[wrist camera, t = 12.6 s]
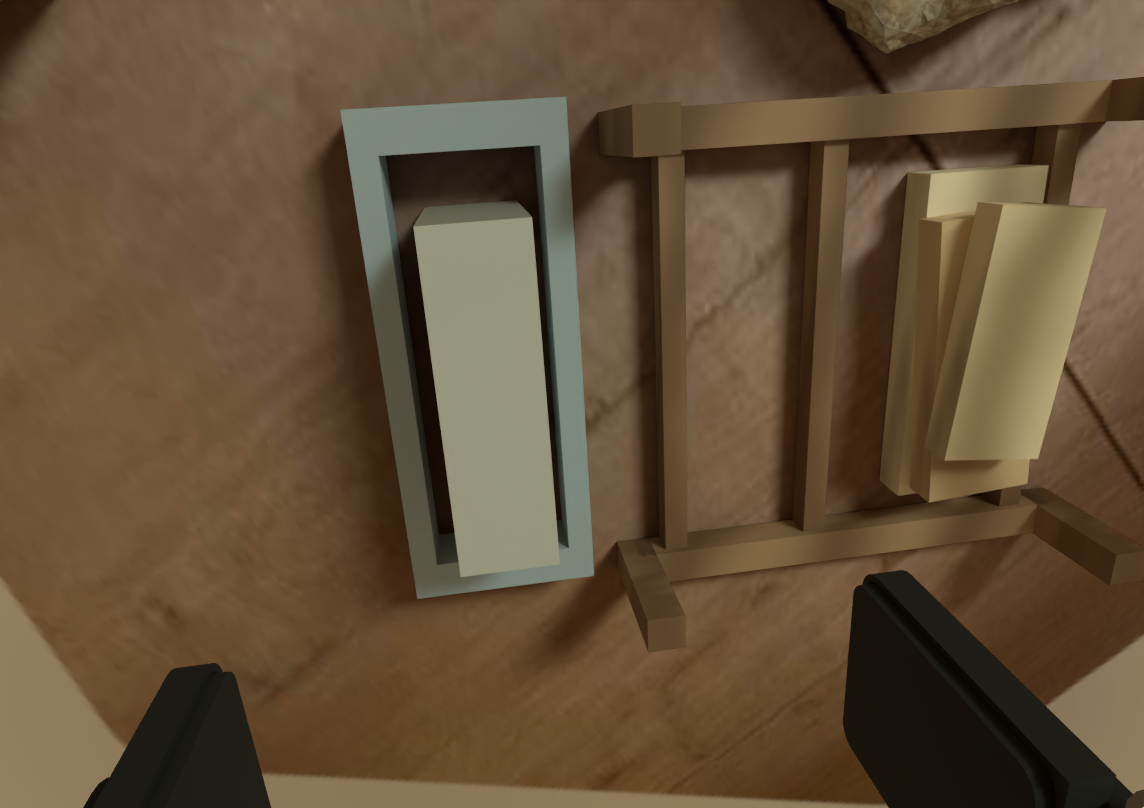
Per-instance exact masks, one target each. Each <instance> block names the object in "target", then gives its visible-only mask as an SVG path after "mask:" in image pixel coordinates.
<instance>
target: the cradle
mask: <svg viewBox="0 0 1144 808" xmlns="http://www.w3.org/2000/svg"><path fill="white" fill-rule="evenodd" d="M341 117H342V123H343V129H344V136H345V142H346V149H347V155H348V161H349V168H350V174H351V180H352V187H353V193H354V199H355V206H356V212H357V218H358V225H359V231H360V238H361V244H362V250H363V257H364V263H365V269H366V276H367V282H368V288H369V295H370V301H371V308H372V314H373V320H374V327H375V333H376V339H377V346H378V352H379V358H380V365H381V371H382V378H383V384H384V390H385V397H386V403H387V409H388V416H389V422H390V428H391V435H392V441H393V447H394V454H395V460H396V467H397V473H398V479H399V486H400V492H401V498H402V505H403V511H404V517H405V524H406V530H407V537H408V543H409V549H410V556H411V562H412V568H413V575H414V581H415V587H416V594H417V599H421V598H429V597H436V596H444V595H451V594H459V593H467V592H474V591H482V590H489V589H497V588H505V587H512V586H520V585H527V584H535V583H542V582H550V581H558V580H565V579H573V578H580V577H588V576H594V563H593V546H592V529H591V512H590V495H589V478H588V461H587V444H586V427H585V410H584V393H583V376H582V359H581V342H580V324H579V307H578V290H577V273H576V256H575V239H574V222H573V205H572V188H571V171H570V154H569V137H568V120H567V102H566V97H552V98H535V99H518V100H501V101H484V102H467V103H450V104H433V105H416V106H399V107H382V108H364V109H347V110H341ZM522 146H534V155H535V168H536V182H537V195H538V209H539V222H540V236H541V249H542V263H543V276H544V290H545V303H546V317H547V330H548V344H549V357H550V371H551V384H552V398H553V411H554V425H555V438H556V452H557V465H558V479H559V492H560V506H561V519H562V520H556V521H557V533H558V546H559V558H560V564H557V565H550V566H542V567H534V568H527V569H519V570H512V571H504V572H497V573H489V574H482V575H474V576H466V577H461V576H460V568H459V561H458V554H457V546H456V539H455V533H449V534H441V535H439V532H438V525H437V518H436V510H435V503H434V496H433V489H432V482H431V475H430V468H429V460H428V453H427V446H426V439H425V432H424V425H423V418H422V411H421V403H420V396H419V389H418V382H417V375H416V368H415V361H414V354H413V346H412V339H411V332H410V325H409V318H408V311H407V304H406V297H405V289H404V282H403V275H402V268H401V261H400V254H399V247H398V239H397V232H396V225H395V218H394V211H393V204H392V197H391V190H390V182H389V175H388V168H387V161H386V155H400V154H416V153H431V152H446V151H461V150H477V149H492V148H507V147H522Z"/></svg>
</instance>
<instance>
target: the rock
mask: <svg viewBox="0 0 1144 808" xmlns="http://www.w3.org/2000/svg"><path fill="white" fill-rule="evenodd" d="M827 1H828V2H829V3H830V4H832V5H834V6H836V7H838V8H840V9H842V10H844V11H845V16H846V22H847V28H848V29H850V30H852V31H854V32H856V33H858V34H860V35H862V36H863V37H864V38H865V39H866V40H867V41H868V42H869V43H870V44H872V45H873V46H874V47H877V48H879V49H880V50H882V51H883V52H885V53H890V52H892V51H895V50H897V49H899V48H902V47H904V46H905V45H907V44H914V43H919V42H921V41H923V40H925V39H927V38H929V37H931V36H933V35H939V34H940V33H941V32H943V31H944V30H946V29H948V28H950V27H952V26H954V25H956V24H959V23H961V22H963V21H965V20H967V19H969V18H971V17H974V16H977V15H980V14H982V13H985V12H988V11H991V10H993V9H997V8H1000V7H1003V6H1006V5H1009V4H1013V3H1016V2H1017V1H1018V0H827Z"/></svg>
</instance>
